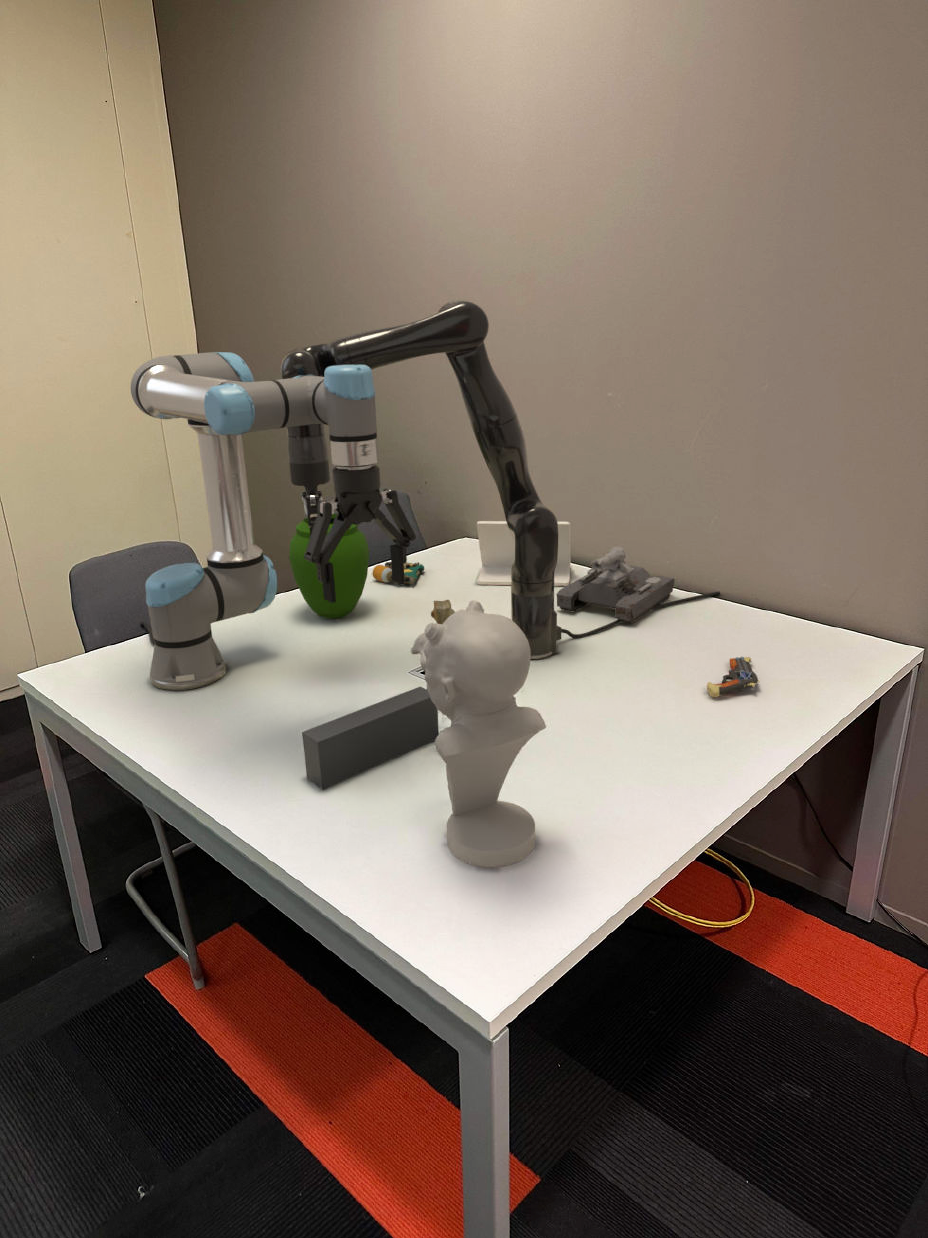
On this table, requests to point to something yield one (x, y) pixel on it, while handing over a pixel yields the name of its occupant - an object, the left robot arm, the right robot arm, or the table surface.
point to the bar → (369, 737)
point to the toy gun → (735, 678)
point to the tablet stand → (501, 553)
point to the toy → (616, 588)
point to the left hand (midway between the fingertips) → (365, 591)
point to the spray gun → (386, 572)
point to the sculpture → (441, 611)
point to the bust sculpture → (481, 729)
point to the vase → (346, 566)
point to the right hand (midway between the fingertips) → (316, 540)
